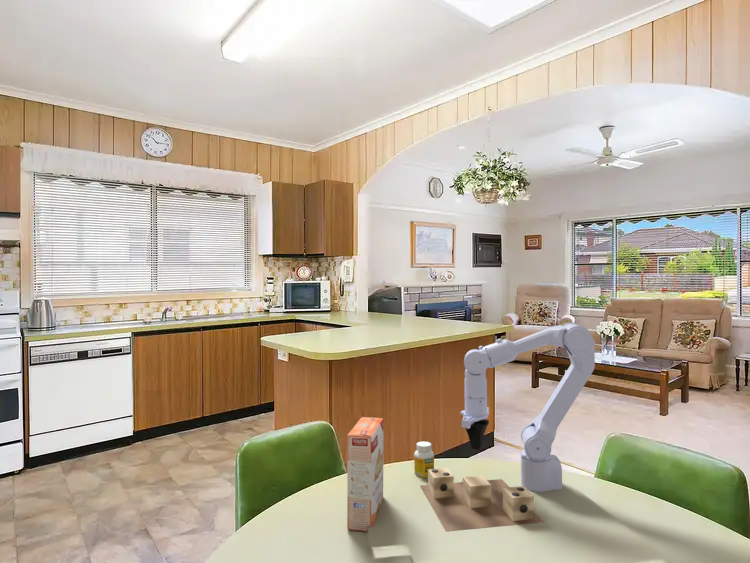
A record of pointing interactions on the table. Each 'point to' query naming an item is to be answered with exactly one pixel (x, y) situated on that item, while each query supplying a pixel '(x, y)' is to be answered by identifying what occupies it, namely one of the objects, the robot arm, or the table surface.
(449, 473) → the pip cube
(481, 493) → the blank cube
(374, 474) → the cracker box
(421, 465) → the supplement bottle
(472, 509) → the walnut board
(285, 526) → the table surface
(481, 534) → the table surface
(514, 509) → the pip cube 2
